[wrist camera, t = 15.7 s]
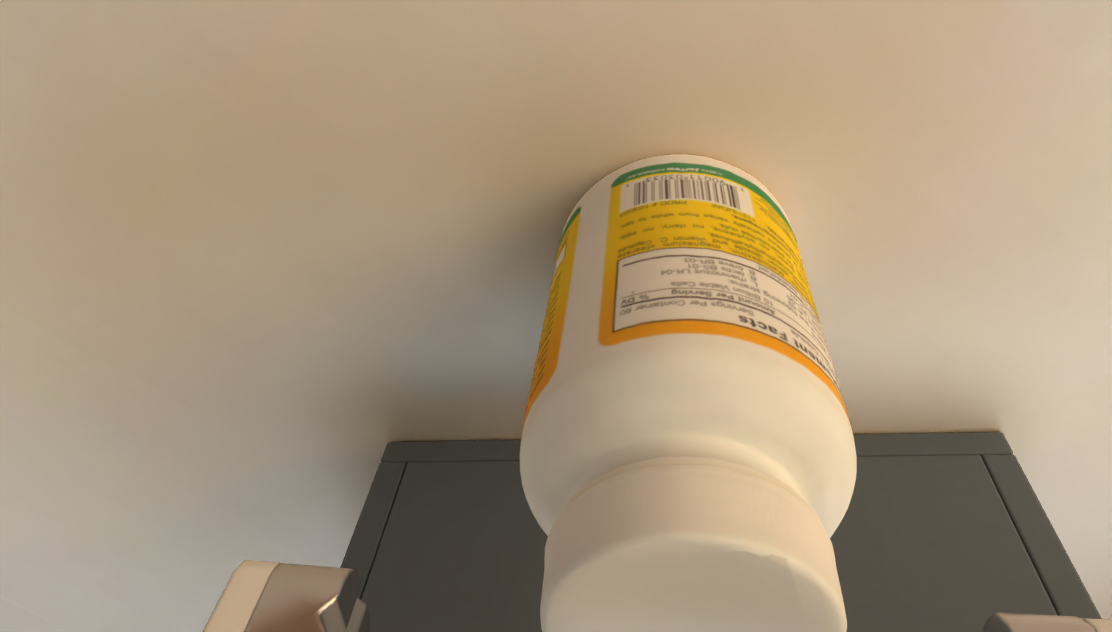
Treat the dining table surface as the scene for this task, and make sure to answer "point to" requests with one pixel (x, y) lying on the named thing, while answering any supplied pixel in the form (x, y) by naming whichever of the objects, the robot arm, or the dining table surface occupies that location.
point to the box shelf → (858, 542)
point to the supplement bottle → (685, 414)
